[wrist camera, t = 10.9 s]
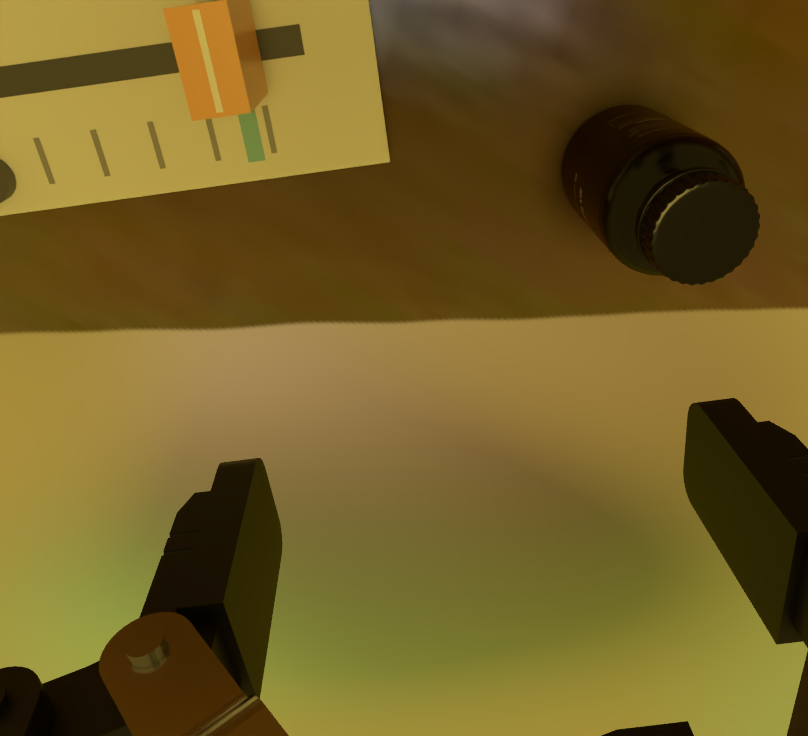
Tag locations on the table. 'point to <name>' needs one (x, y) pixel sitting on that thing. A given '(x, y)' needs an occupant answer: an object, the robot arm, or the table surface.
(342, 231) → the table surface
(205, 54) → the fader cap
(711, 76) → the table surface
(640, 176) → the supplement bottle
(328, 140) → the console
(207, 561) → the robot arm
